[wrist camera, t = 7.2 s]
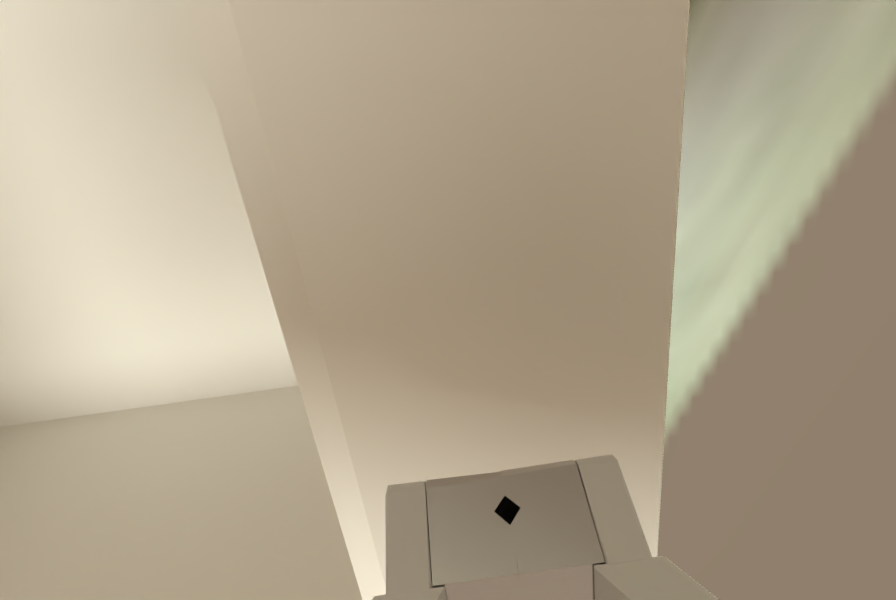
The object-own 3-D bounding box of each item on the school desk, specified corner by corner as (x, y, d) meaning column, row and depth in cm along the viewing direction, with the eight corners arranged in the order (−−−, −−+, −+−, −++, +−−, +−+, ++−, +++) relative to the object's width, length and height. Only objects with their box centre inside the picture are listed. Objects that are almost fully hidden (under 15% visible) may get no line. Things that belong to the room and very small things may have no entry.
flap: (192, -136, 9) (700, -197, 7) (211, -140, 9) (700, -199, 7) (396, 628, 17) (649, 682, 15) (402, 612, 17) (650, 664, 16)
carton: (-396, -135, 16) (-1088, -72, 8) (266, -230, 16) (164, -252, 8) (-18, 450, 25) (-184, 722, 18) (395, 392, 25) (401, 642, 18)
